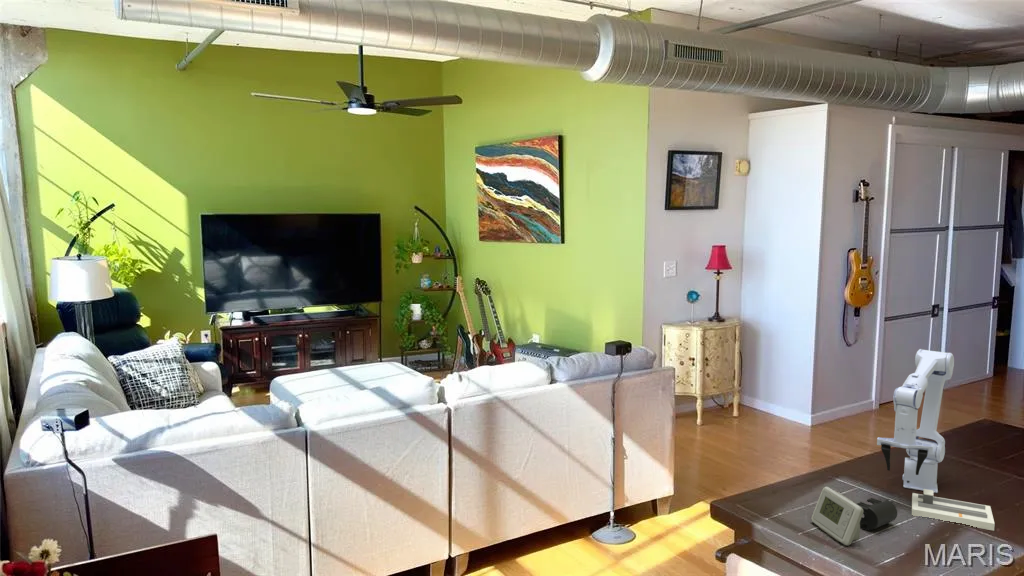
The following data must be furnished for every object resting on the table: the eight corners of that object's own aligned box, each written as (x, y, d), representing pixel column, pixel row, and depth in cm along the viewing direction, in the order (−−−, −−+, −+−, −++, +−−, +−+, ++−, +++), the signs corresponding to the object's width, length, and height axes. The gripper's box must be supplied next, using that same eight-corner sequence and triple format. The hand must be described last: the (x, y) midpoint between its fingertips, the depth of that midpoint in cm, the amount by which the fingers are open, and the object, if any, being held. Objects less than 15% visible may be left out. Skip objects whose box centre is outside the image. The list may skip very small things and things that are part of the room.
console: (911, 515, 209) (912, 505, 209) (912, 499, 221) (912, 489, 221) (994, 530, 200) (994, 520, 199) (989, 512, 212) (990, 502, 211)
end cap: (877, 535, 197) (878, 511, 196) (852, 525, 203) (853, 502, 202) (897, 526, 202) (898, 503, 201) (872, 517, 208) (874, 495, 207)
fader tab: (923, 504, 212) (923, 493, 212) (922, 499, 216) (923, 488, 215) (932, 505, 211) (933, 495, 210) (932, 500, 214) (933, 490, 214)
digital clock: (808, 521, 205) (810, 485, 204) (840, 521, 205) (842, 485, 204) (833, 547, 189) (835, 508, 188) (867, 547, 189) (870, 508, 188)
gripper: (877, 427, 214) (875, 471, 216) (934, 434, 207) (930, 480, 209) (878, 421, 221) (876, 464, 222) (933, 428, 213) (930, 472, 215)
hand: (902, 471), depth 216 cm, fingers open, 7 cm apart
